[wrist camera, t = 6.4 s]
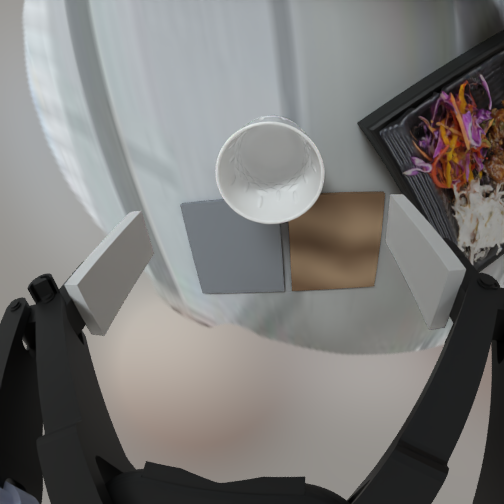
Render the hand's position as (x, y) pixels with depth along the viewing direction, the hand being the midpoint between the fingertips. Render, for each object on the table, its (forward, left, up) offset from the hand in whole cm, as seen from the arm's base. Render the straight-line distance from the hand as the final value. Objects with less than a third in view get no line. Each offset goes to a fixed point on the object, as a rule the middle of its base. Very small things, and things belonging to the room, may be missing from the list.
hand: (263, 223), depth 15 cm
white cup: (0, 0, -17) cm, 17 cm away
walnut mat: (+12, +7, -17) cm, 22 cm away
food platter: (-5, +34, -18) cm, 39 cm away
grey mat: (+12, -5, -17) cm, 21 cm away
